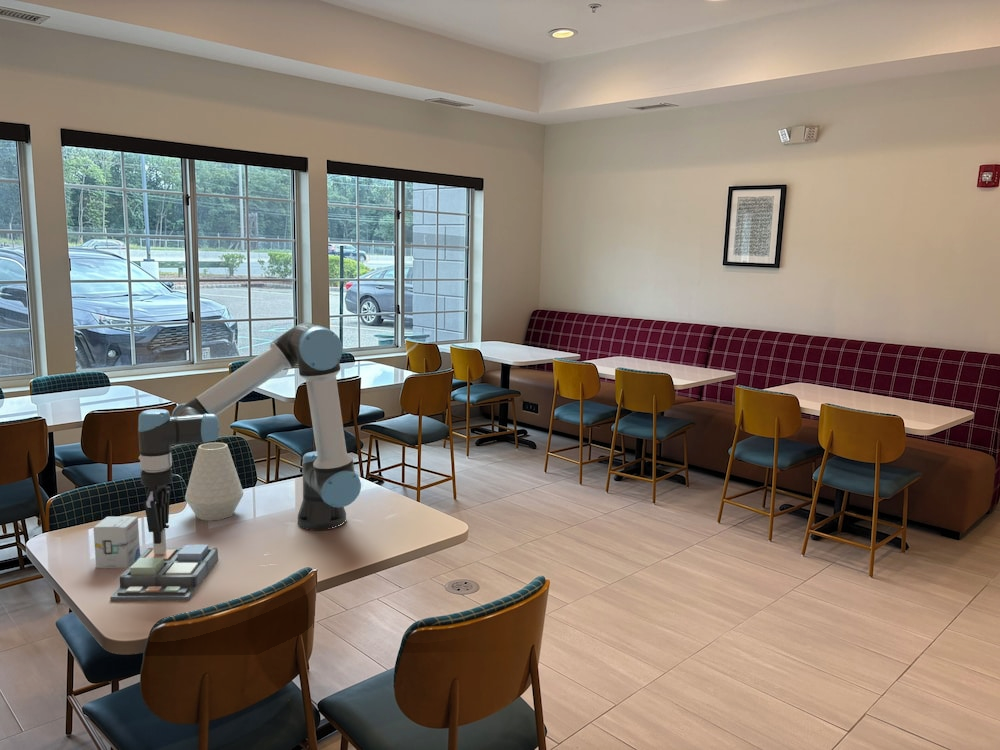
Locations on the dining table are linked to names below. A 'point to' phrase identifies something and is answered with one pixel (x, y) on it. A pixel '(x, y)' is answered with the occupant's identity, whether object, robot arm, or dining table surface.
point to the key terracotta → (166, 556)
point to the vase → (213, 483)
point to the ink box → (116, 542)
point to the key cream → (182, 569)
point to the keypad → (164, 581)
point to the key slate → (193, 553)
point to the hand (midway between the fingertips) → (160, 553)
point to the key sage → (147, 566)
